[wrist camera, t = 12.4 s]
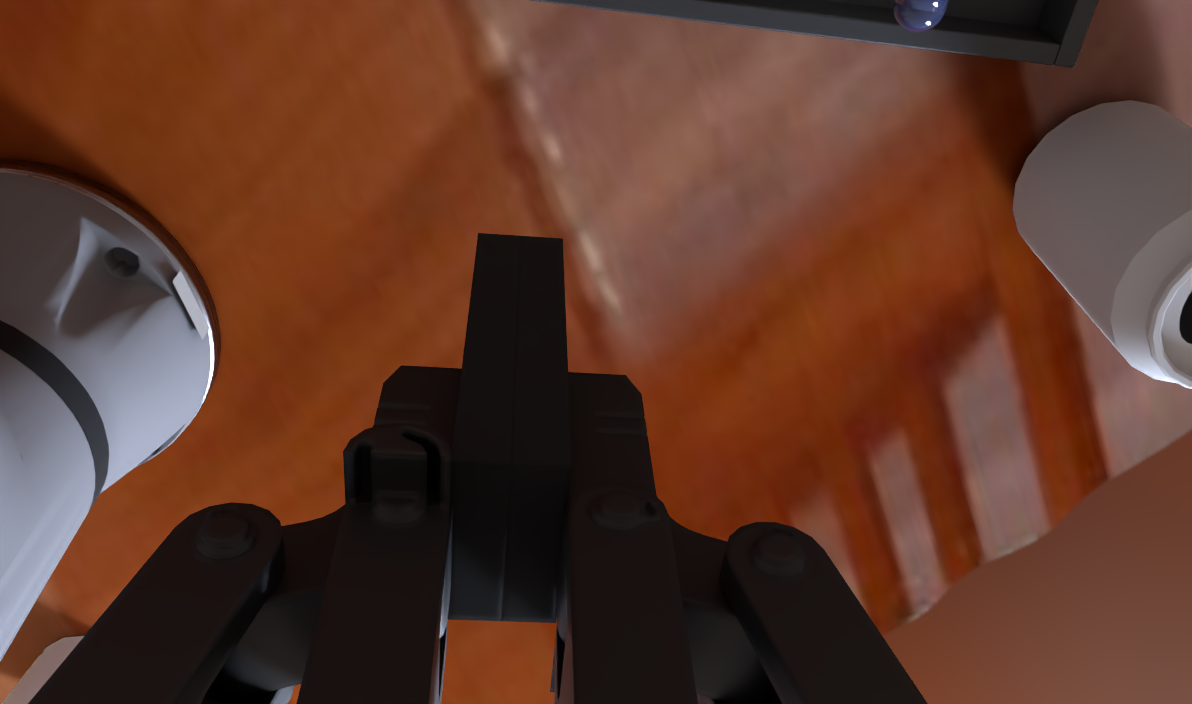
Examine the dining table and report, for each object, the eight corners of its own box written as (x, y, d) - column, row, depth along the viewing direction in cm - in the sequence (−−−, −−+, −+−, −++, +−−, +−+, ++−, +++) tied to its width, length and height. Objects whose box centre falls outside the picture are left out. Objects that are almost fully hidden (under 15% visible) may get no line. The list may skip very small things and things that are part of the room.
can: (1031, 89, 42) (1178, 208, 32) (1210, 97, 42) (1412, 217, 32) (986, 254, 46) (1103, 408, 36) (1149, 260, 46) (1313, 414, 36)
